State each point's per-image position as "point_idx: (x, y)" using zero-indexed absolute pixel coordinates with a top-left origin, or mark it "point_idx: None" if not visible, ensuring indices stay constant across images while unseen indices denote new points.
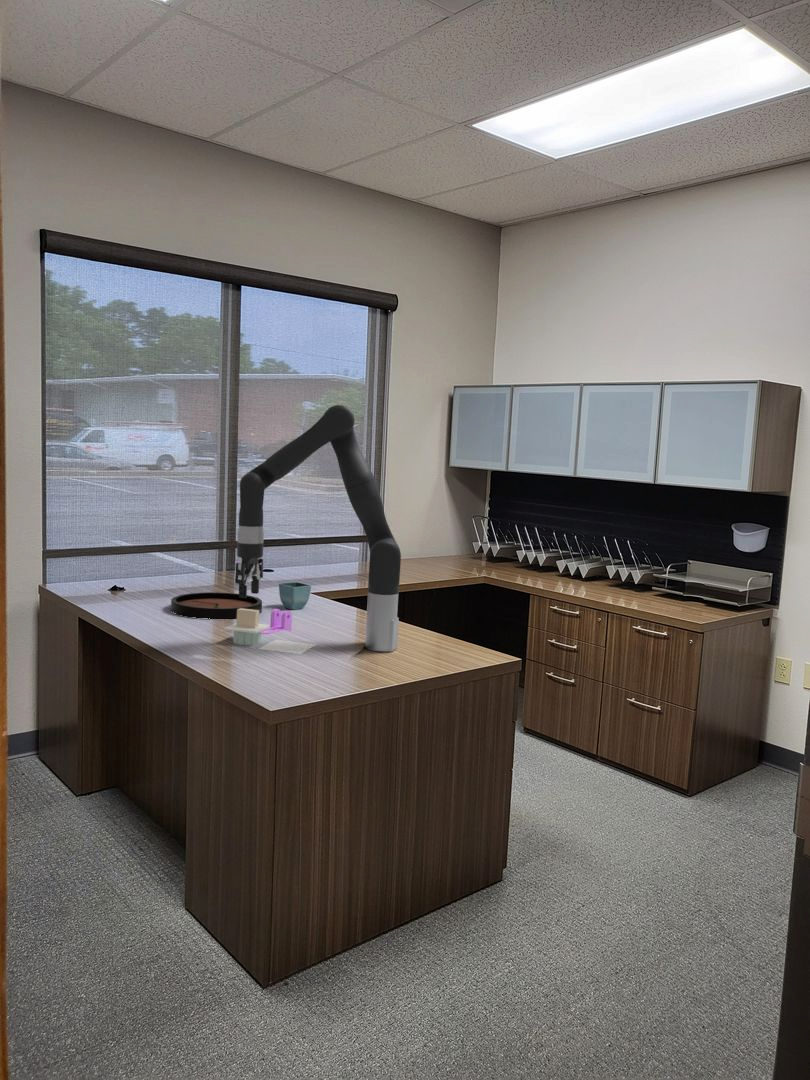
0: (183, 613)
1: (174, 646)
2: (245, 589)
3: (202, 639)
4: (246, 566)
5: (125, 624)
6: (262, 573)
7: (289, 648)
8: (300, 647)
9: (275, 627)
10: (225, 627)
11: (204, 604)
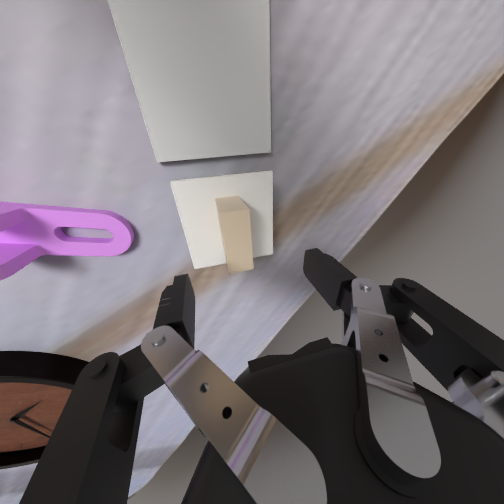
0: None
1: (294, 286)
2: (338, 268)
3: (235, 288)
4: (483, 422)
5: None
6: (82, 398)
7: (223, 60)
8: (188, 20)
9: (34, 239)
10: (269, 254)
11: (33, 426)
